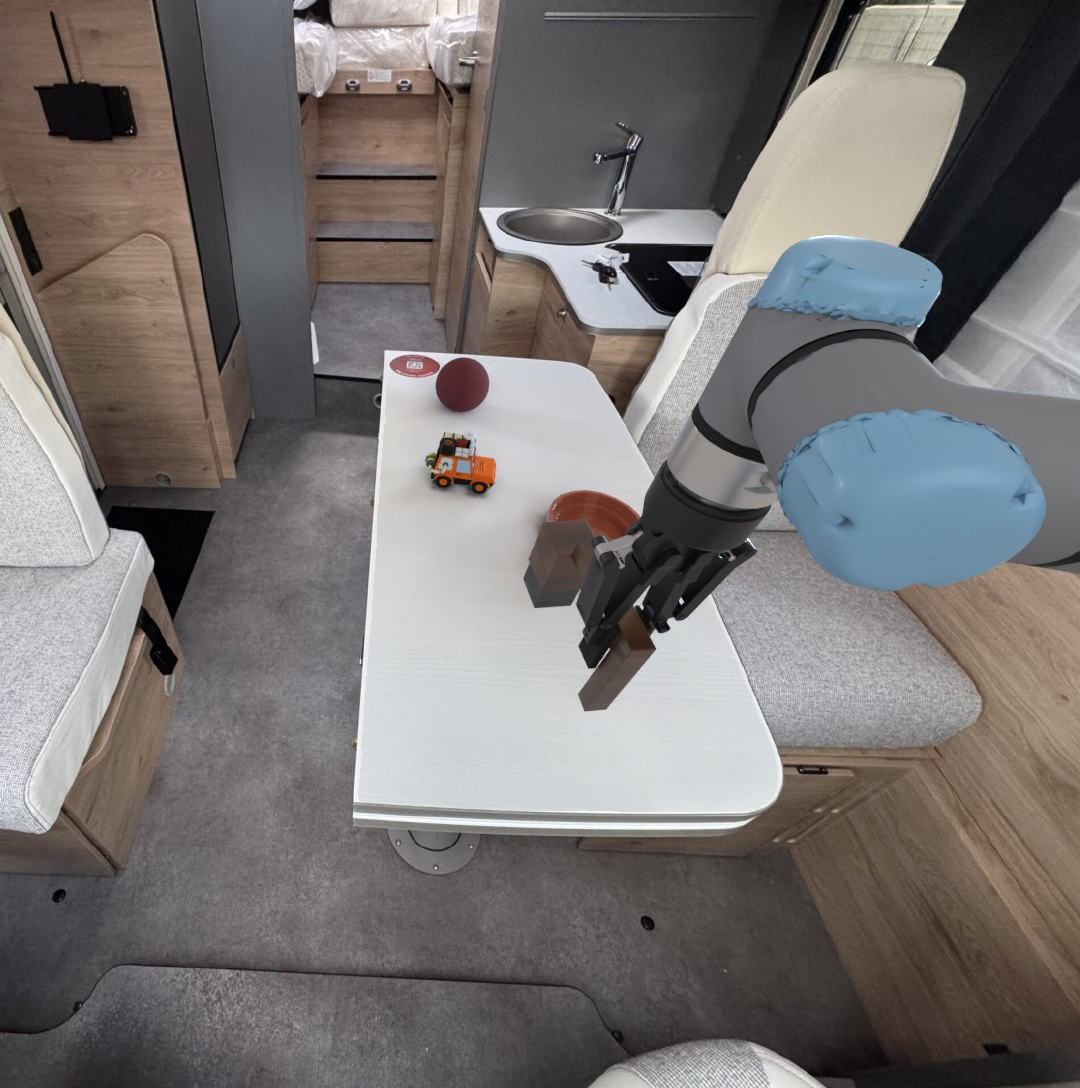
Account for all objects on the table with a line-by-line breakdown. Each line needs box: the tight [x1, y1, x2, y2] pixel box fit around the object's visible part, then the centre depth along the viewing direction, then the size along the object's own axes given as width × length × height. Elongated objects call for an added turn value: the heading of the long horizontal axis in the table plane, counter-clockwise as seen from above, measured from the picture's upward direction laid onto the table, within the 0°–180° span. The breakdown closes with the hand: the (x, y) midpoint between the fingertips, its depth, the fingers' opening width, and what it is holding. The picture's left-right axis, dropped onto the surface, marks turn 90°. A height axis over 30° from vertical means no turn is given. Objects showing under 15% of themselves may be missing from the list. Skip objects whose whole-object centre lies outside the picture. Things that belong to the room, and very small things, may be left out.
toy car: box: [424, 431, 498, 495], centre depth 94 cm, size 7×12×9 cm, turn 80°
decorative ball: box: [435, 356, 490, 413], centre depth 108 cm, size 10×10×10 cm
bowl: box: [543, 489, 641, 570], centre depth 87 cm, size 14×14×4 cm
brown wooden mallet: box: [522, 520, 657, 712], centre depth 61 cm, size 18×5×12 cm, turn 6°
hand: (601, 655), depth 58 cm, fingers closed on brown wooden mallet, 2 cm apart
